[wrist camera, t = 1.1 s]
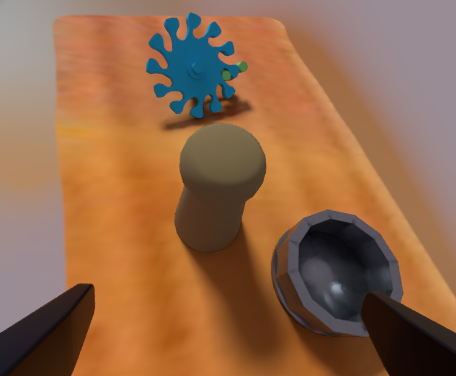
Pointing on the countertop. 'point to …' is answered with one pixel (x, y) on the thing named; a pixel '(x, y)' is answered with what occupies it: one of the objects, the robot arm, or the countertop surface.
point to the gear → (194, 66)
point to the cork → (217, 184)
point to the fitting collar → (332, 272)
